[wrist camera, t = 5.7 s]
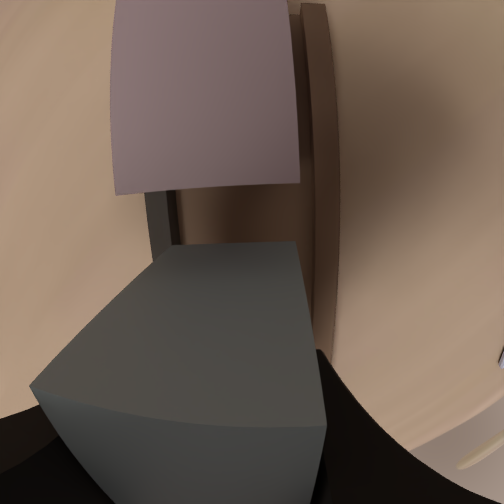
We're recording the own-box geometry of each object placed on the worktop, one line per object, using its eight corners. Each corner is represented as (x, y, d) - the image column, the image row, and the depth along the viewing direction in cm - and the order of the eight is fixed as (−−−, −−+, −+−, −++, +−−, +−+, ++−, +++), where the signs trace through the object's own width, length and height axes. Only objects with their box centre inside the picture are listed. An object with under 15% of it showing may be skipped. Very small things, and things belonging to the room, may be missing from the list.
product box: (295, 240, 9) (327, 425, 3) (293, 402, 11) (294, 556, 5) (166, 245, 10) (21, 382, 3) (195, 400, 12) (151, 540, 5)
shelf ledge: (318, 23, 11) (325, 4, 9) (318, 405, 18) (321, 430, 15) (154, 39, 12) (136, 24, 10) (195, 403, 18) (187, 426, 16)
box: (278, 23, 10) (276, -75, 4) (287, 170, 12) (300, 183, 6) (186, 33, 11) (117, -45, 4) (191, 175, 13) (108, 196, 6)
